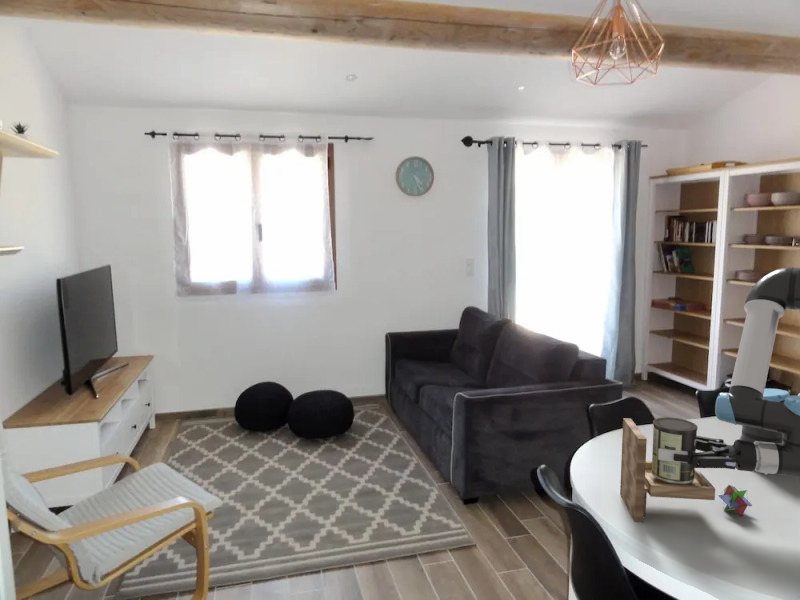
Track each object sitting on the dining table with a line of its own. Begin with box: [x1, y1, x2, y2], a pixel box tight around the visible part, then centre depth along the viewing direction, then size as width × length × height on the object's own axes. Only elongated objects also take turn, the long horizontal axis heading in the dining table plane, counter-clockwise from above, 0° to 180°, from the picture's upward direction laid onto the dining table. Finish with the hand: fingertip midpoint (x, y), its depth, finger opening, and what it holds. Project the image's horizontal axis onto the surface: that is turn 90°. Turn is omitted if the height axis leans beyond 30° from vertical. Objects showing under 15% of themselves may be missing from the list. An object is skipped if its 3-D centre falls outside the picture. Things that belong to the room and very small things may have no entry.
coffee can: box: [651, 417, 699, 484], centre depth 143 cm, size 10×10×14 cm
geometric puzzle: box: [718, 484, 753, 517], centre depth 143 cm, size 7×7×8 cm
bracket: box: [619, 417, 716, 523], centre depth 143 cm, size 15×18×22 cm
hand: (656, 446), depth 144 cm, fingers closed on coffee can, 10 cm apart
